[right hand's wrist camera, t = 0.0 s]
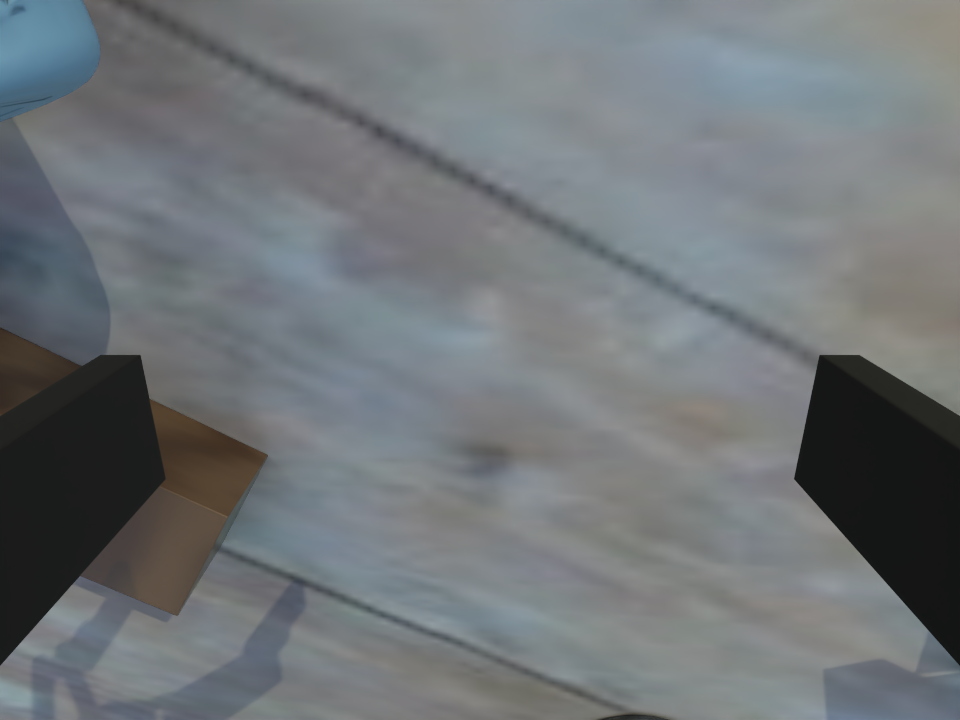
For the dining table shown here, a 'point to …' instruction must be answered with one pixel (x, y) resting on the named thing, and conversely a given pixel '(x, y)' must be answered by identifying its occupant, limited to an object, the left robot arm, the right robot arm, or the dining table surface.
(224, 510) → the thick board
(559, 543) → the dining table surface
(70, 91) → the left robot arm
